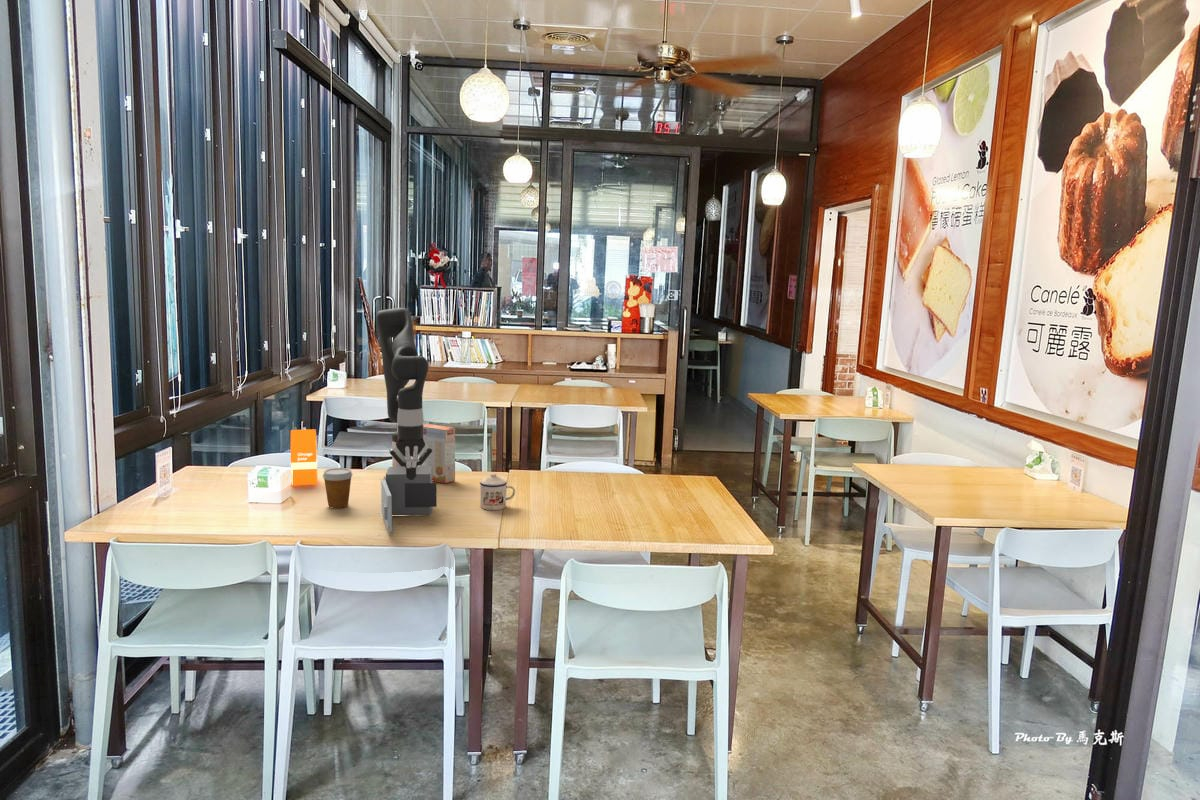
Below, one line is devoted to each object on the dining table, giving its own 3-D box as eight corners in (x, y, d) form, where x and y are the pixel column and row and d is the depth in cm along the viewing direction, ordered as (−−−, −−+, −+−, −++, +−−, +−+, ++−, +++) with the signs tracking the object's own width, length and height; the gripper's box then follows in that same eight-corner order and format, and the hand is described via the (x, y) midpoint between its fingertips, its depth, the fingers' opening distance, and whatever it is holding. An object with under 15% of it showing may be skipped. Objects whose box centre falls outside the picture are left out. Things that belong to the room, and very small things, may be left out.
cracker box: (455, 481, 300) (456, 427, 297) (444, 484, 295) (444, 429, 292) (429, 475, 307) (428, 422, 304) (417, 478, 302) (417, 425, 299)
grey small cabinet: (385, 507, 263) (385, 464, 261) (437, 506, 266) (437, 464, 264) (382, 516, 254) (381, 472, 251) (436, 515, 256) (436, 471, 254)
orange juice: (292, 480, 294) (291, 428, 291) (317, 479, 296) (316, 427, 293) (291, 485, 286) (289, 432, 283) (317, 484, 289) (315, 431, 286)
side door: (385, 512, 254) (385, 479, 252) (391, 531, 235) (391, 495, 233) (379, 512, 253) (378, 479, 251) (384, 531, 234) (384, 496, 233)
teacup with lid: (480, 511, 263) (480, 477, 261) (479, 503, 272) (479, 470, 270) (516, 510, 265) (516, 476, 263) (513, 502, 274) (514, 470, 272)
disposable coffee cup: (352, 509, 261) (352, 474, 259) (322, 510, 258) (321, 475, 256) (353, 501, 270) (352, 467, 268) (324, 502, 267) (323, 468, 265)
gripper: (430, 419, 239) (431, 474, 242) (386, 421, 234) (386, 477, 237) (434, 424, 232) (435, 481, 235) (389, 426, 228) (389, 484, 230)
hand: (410, 479), depth 236 cm, fingers closed
